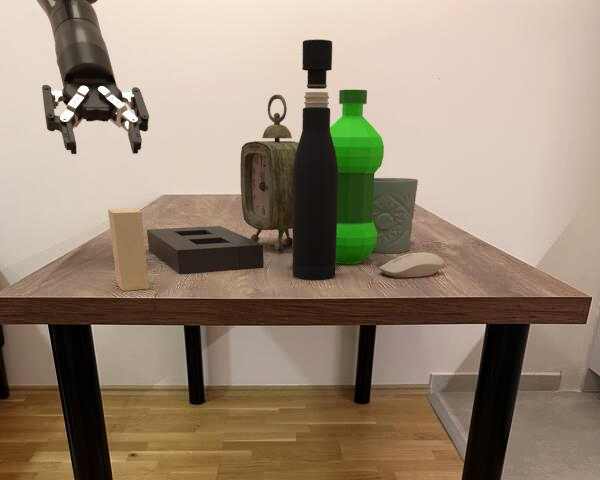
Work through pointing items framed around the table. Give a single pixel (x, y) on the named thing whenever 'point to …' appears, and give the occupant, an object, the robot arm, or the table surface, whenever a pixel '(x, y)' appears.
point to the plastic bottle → (355, 178)
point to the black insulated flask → (315, 174)
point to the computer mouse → (413, 265)
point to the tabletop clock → (269, 180)
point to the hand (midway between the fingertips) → (105, 149)
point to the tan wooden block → (128, 248)
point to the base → (204, 249)
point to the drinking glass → (393, 213)
